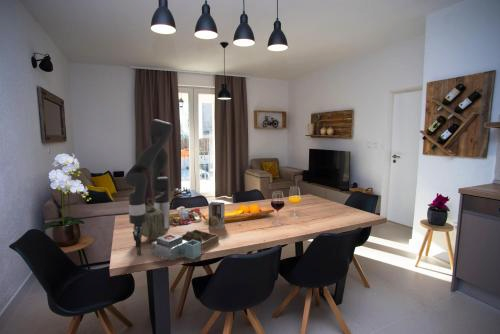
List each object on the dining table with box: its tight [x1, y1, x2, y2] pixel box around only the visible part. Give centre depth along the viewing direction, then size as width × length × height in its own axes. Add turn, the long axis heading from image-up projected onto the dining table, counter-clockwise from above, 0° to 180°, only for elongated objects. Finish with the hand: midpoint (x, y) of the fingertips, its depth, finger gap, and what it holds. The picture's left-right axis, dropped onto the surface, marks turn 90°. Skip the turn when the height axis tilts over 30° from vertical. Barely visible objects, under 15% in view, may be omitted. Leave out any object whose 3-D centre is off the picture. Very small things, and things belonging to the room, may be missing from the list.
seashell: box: [185, 231, 203, 243], centre depth 151 cm, size 11×12×10 cm
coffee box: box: [207, 201, 226, 230], centre depth 179 cm, size 9×6×16 cm
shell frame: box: [180, 229, 220, 252], centre depth 152 cm, size 17×16×4 cm
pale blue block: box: [151, 232, 188, 262], centre depth 139 cm, size 14×11×8 cm
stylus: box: [135, 233, 142, 256], centre depth 137 cm, size 2×2×12 cm
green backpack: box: [142, 197, 166, 243], centre depth 154 cm, size 14×9×25 cm, turn 48°
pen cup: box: [184, 240, 202, 260], centre depth 137 cm, size 6×6×7 cm
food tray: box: [169, 206, 203, 226], centre depth 194 cm, size 25×24×9 cm
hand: (138, 246), depth 137 cm, fingers closed on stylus, 2 cm apart
